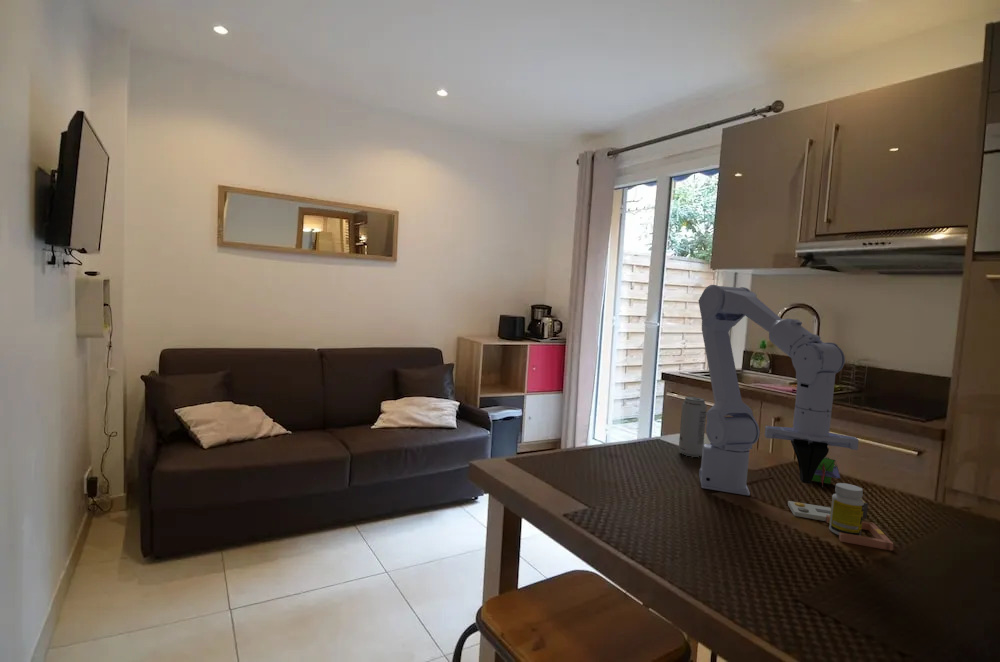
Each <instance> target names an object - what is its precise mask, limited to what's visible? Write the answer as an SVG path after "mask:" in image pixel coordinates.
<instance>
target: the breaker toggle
mask: <svg viewBox="0 0 1000 662" xmlns="http://www.w3.org/2000/svg"><path fill="white" fill-rule="evenodd" d="M860 499H862V500H863V502H864V511H863V519H865V520H867V516H868V507H869V504H868V503H867V502H866V501H865V500H864V499H863V497H862V498H860Z"/></svg>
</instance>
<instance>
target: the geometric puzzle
mask: <svg viewBox="0 0 1000 662" xmlns="http://www.w3.org/2000/svg"><path fill="white" fill-rule="evenodd" d="M836 463H837V461H836V459H833V458H831V457H828V456H827V455H826V456H825V458H824V459H823V460H822V461H821V463H820V464H819V466H818V468H817V470H816V472H815V474H814V476H813V479H812V482H815V483H816V484H819V483H821V487H822V488H824V487H826V486H827V485H828V486H829V485H831V484H832V482H833V479H837V480H835V482H837V481H839V480H841V479H842V478H841V475H840V472H839V471H840V470H839V467H838V465H837V464H836ZM824 484H825V485H824Z"/></svg>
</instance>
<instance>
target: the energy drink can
mask: <svg viewBox="0 0 1000 662" xmlns="http://www.w3.org/2000/svg"><path fill="white" fill-rule="evenodd" d="M705 401H706V400H705V398H702V397H694V396H686V397H685V398H684V400H683V402H682V403H681V404H682V406H681V415H680V416H681V417H680V428H679V429H680V430H679V439H678V441H679V442H678V451H679V452H680V453H682V454H684V455H687V456H693V457H698V456H700V457H701V456H702V449H703V444H705V443H704V442H705V432H706V423H707V416H706V413H707V411H708V410H707V409H708V408H707V407H708V406H707V404H706V402H705ZM687 456H686V457H687ZM693 457H692V458H693ZM698 458H699V457H698Z"/></svg>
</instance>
